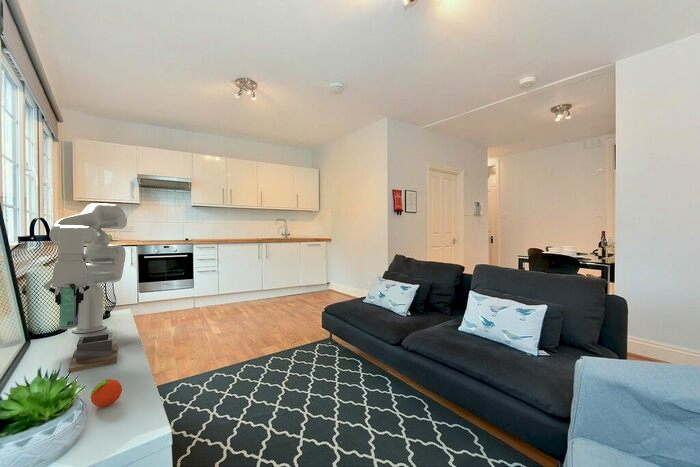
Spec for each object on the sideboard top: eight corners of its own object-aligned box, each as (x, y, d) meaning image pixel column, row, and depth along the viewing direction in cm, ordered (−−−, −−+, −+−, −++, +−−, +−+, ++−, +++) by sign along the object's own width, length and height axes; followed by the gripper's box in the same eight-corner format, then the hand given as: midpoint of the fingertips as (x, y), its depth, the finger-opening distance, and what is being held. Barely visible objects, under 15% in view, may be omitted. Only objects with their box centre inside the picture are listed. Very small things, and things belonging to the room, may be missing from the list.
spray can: (81, 325, 123) (83, 276, 122) (68, 329, 117) (69, 278, 117) (69, 324, 123) (71, 275, 123) (55, 328, 118) (56, 277, 117)
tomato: (100, 416, 80) (101, 389, 80) (79, 412, 81) (80, 386, 81) (127, 400, 88) (128, 375, 88) (107, 397, 89) (108, 372, 89)
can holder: (74, 352, 119) (75, 333, 119) (116, 345, 126) (117, 328, 126) (68, 372, 103) (68, 350, 103) (116, 363, 111) (117, 343, 111)
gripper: (99, 256, 128) (98, 299, 128) (42, 257, 117) (40, 303, 118) (98, 258, 122) (97, 303, 122) (38, 259, 111) (36, 308, 112)
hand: (69, 303), depth 120 cm, fingers closed on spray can, 5 cm apart
